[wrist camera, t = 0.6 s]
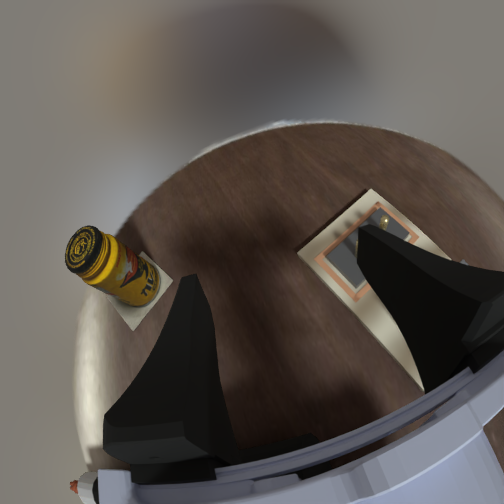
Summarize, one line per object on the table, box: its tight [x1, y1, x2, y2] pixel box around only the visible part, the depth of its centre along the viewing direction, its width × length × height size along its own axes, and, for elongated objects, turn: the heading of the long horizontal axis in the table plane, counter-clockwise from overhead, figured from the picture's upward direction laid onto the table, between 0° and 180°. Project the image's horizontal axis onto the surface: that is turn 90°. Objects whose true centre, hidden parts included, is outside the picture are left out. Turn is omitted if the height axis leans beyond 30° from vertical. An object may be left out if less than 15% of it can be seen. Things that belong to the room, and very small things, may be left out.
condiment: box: [65, 226, 173, 331], centre depth 30 cm, size 7×8×12 cm
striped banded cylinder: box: [70, 433, 332, 504], centre depth 19 cm, size 10×34×10 cm, turn 108°
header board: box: [297, 189, 451, 392], centre depth 25 cm, size 20×12×5 cm, turn 36°
